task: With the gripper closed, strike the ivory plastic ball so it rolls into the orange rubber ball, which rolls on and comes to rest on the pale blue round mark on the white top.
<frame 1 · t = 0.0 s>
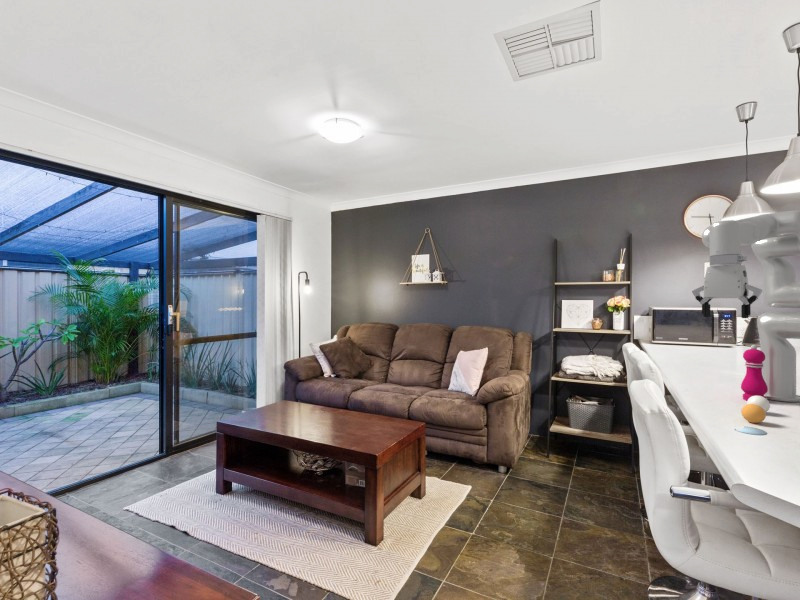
hand: (725, 317, 123), 31 cm above the table, tool pointing down, fingers open, 9 cm apart
object ball: (753, 413, 119), on the table
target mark: (749, 430, 112), on the table
pepper mill: (754, 400, 144), on the table
cue ball: (758, 404, 129), on the table
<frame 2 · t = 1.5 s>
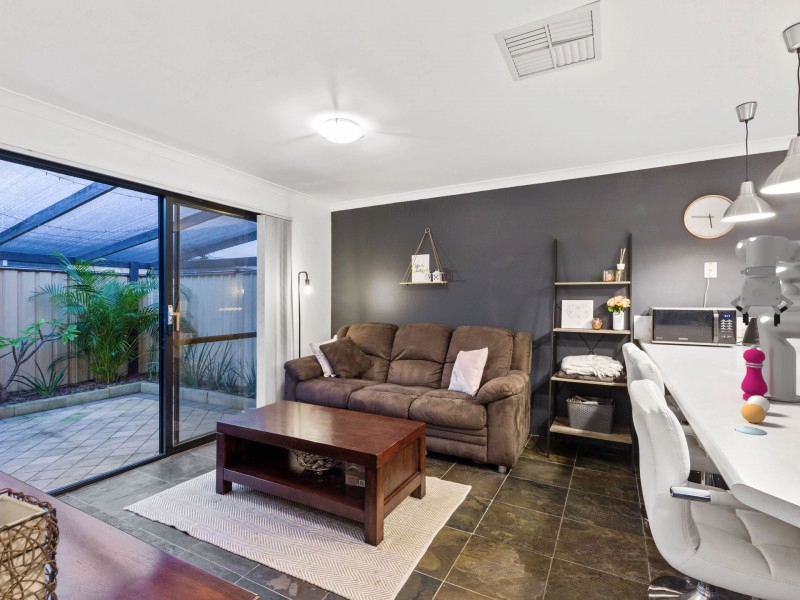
hand: (761, 325, 135), 28 cm above the table, tool pointing down, fingers open, 6 cm apart
nothing on the table moved.
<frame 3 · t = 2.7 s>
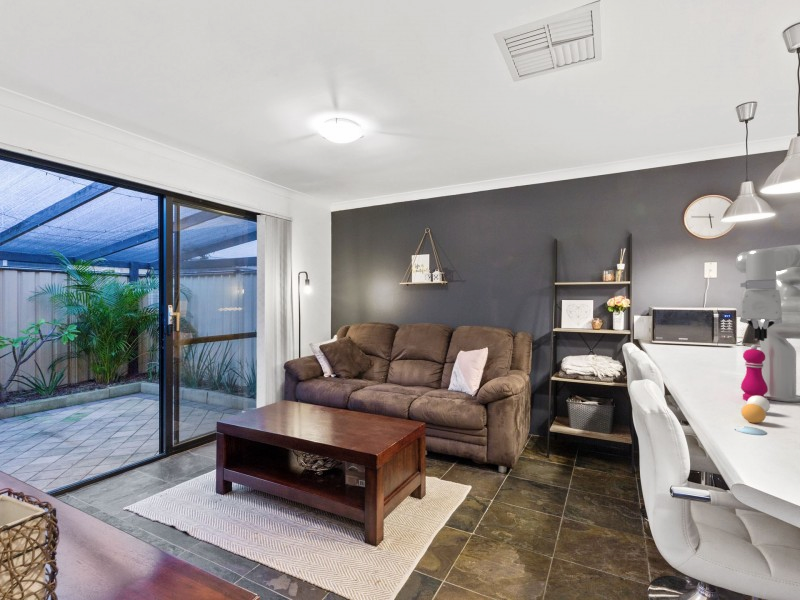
hand: (760, 340, 135), 23 cm above the table, tool pointing down, fingers closed
nothing on the table moved.
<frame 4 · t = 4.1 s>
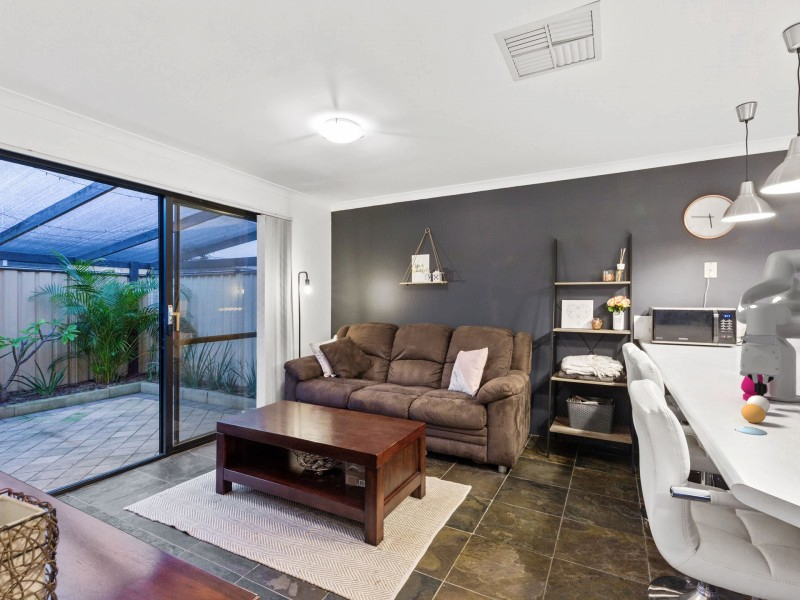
hand: (760, 394, 135), 4 cm above the table, tool pointing down, fingers closed
nothing on the table moved.
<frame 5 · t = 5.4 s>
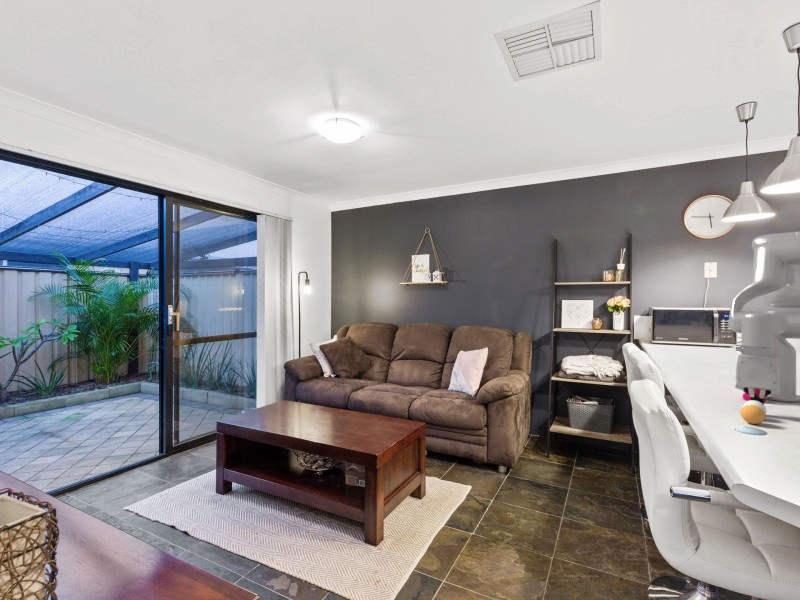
hand: (757, 409, 127), 2 cm above the table, tool pointing down, fingers closed
object ball: (752, 414, 118), on the table
cue ball: (754, 409, 123), on the table
everything else where it was.
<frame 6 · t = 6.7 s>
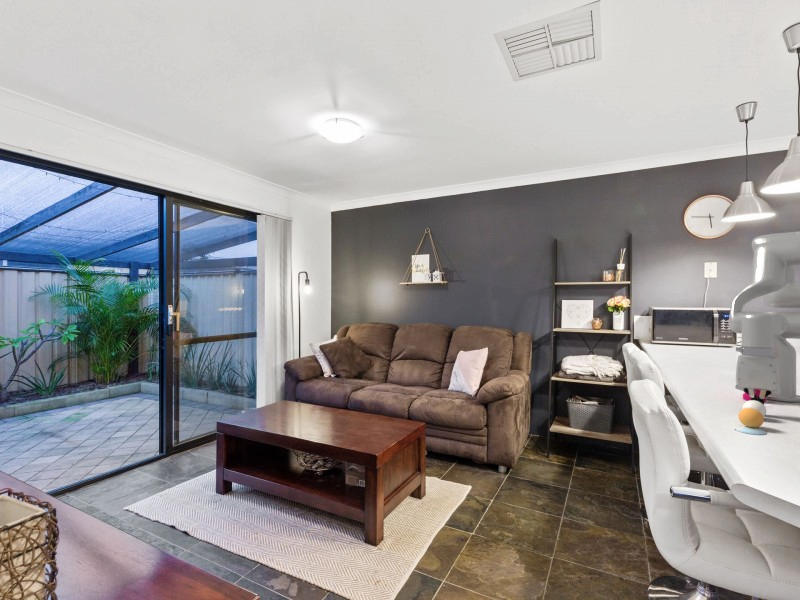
hand: (757, 410, 127), 2 cm above the table, tool pointing down, fingers closed
object ball: (751, 417, 115), on the table
everything else where it was.
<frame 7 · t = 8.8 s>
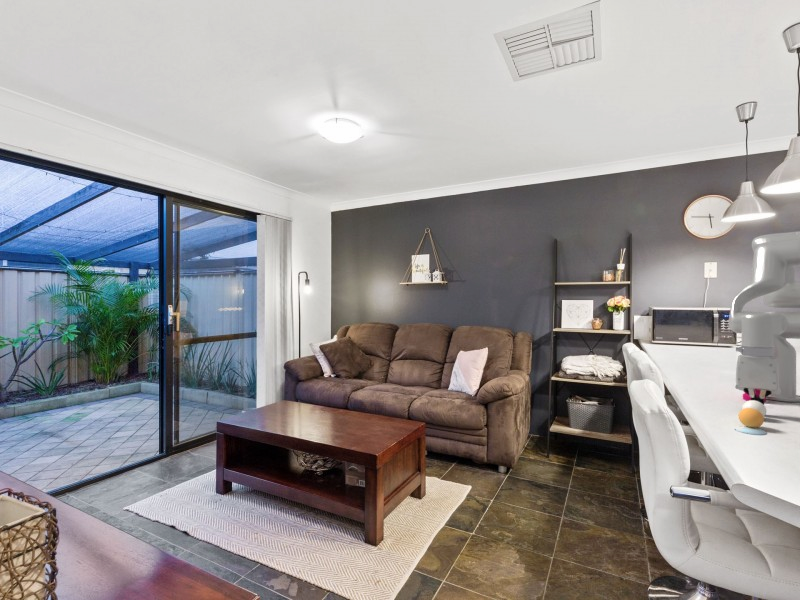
hand: (757, 409, 127), 2 cm above the table, tool pointing down, fingers closed
nothing on the table moved.
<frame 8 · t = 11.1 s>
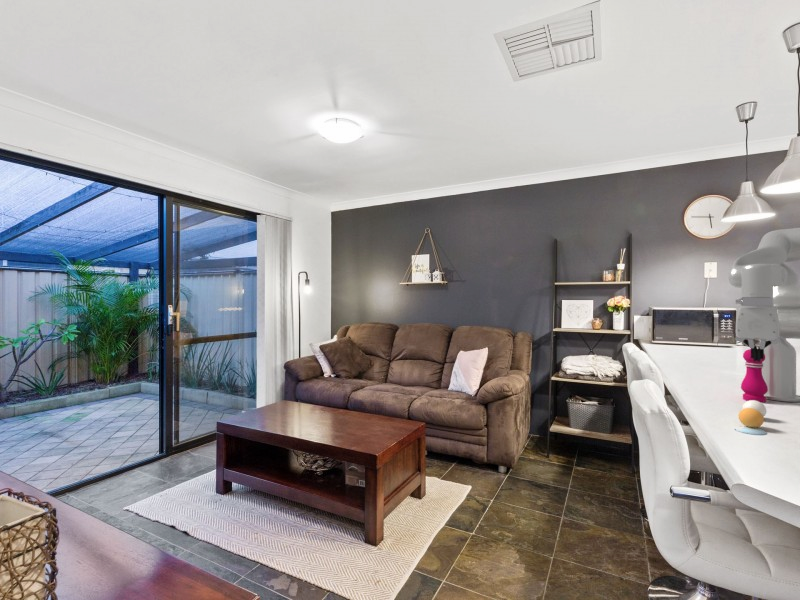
hand: (757, 360, 127), 17 cm above the table, tool pointing down, fingers closed
nothing on the table moved.
at the end: object ball 3.9 cm from the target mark (horizontally); object ball never touched the robot; cue ball first touched object ball at 5.2 s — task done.
